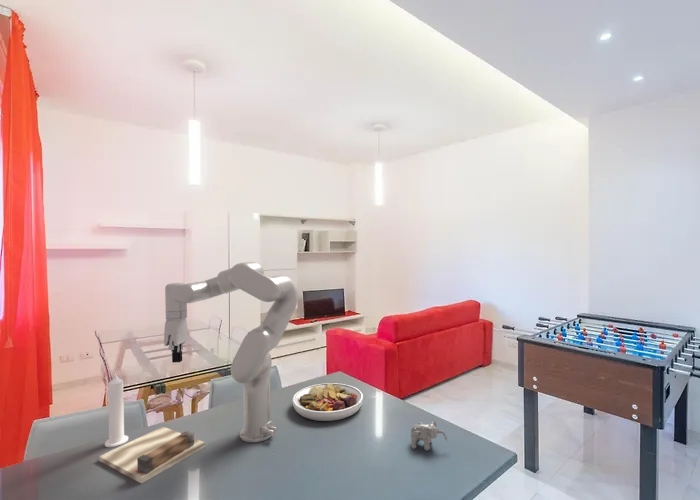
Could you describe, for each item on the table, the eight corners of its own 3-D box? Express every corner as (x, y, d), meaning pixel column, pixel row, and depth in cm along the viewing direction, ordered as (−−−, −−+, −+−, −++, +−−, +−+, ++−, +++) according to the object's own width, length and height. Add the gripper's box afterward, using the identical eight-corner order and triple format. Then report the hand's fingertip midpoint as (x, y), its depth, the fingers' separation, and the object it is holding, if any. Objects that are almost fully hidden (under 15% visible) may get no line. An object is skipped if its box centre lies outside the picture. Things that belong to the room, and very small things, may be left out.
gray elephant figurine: (409, 439, 127) (408, 417, 127) (443, 437, 126) (442, 416, 126) (412, 454, 117) (411, 431, 117) (449, 453, 117) (447, 429, 117)
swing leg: (188, 439, 125) (187, 428, 125) (197, 442, 123) (197, 431, 123) (137, 470, 108) (136, 457, 108) (146, 473, 106) (146, 461, 106)
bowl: (278, 412, 149) (277, 393, 149) (323, 388, 174) (322, 372, 174) (334, 432, 132) (334, 411, 132) (376, 403, 157) (375, 385, 157)
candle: (116, 448, 123) (115, 376, 123) (99, 446, 125) (98, 375, 125) (133, 437, 130) (131, 369, 130) (116, 436, 131) (115, 368, 131)
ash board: (205, 446, 123) (205, 442, 123) (141, 483, 104) (141, 478, 104) (163, 430, 135) (163, 426, 135) (99, 460, 116) (99, 456, 116)
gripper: (176, 311, 146) (176, 356, 146) (156, 318, 131) (157, 368, 131) (194, 311, 146) (195, 355, 146) (176, 318, 131) (177, 368, 131)
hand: (177, 361), depth 138 cm, fingers closed
